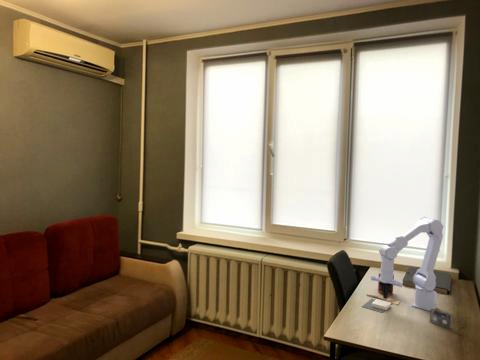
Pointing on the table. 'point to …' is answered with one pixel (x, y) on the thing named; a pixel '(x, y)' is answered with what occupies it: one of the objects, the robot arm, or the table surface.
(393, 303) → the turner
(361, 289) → the table surface
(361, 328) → the table surface
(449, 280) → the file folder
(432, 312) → the mini dv tape
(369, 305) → the mat
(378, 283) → the canned food
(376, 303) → the tile
